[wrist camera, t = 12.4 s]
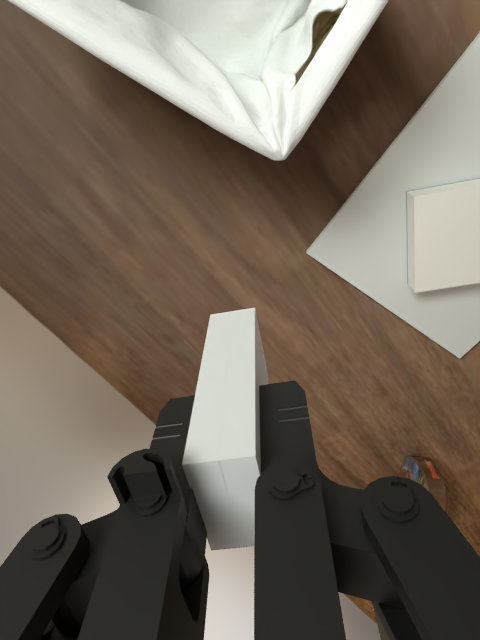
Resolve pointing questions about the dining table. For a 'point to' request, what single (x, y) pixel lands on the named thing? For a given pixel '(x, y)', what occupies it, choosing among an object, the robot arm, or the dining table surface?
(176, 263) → the dining table surface
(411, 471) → the tin
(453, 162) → the mat
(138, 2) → the storage basket
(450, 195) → the tile
